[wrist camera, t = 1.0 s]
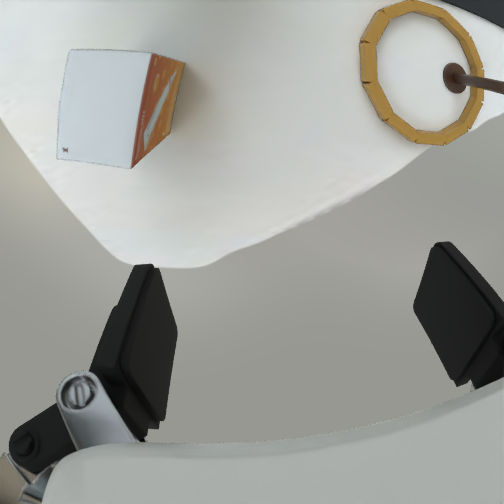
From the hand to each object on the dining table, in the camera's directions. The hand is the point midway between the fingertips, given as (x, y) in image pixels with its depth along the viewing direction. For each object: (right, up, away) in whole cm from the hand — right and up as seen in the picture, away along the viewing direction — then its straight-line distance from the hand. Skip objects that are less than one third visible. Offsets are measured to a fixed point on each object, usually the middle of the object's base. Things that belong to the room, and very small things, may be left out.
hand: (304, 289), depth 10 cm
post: (+23, +22, +16) cm, 36 cm away
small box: (-12, +17, +17) cm, 27 cm away
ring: (+18, +22, +16) cm, 33 cm away
